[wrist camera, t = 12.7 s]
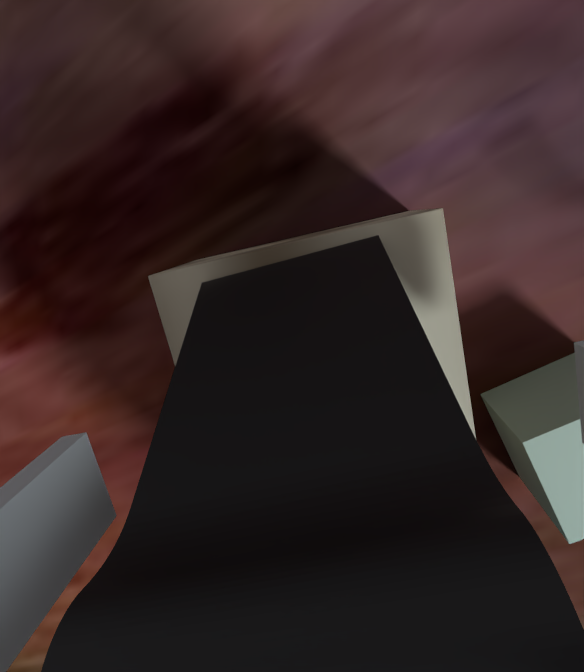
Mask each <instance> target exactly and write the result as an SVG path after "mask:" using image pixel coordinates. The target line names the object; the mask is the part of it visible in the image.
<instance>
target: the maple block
mask: <svg viewBox="0 0 584 672" xmlns="http://www.w3.org/2000/svg"><path fill="white" fill-rule="evenodd" d="M376 235H379V237H380V240H381V242H382V244H383V246H384V248H385V250H386V252H387V254H388V256H389V258H390V260H391V263H392V265H393V267H394V269H395V271H396V273H397V275H398V277H399V279H400V281H401V284H402V286H403V288H404V290H405V292H406V294H407V296H408V298H409V300H410V302H411V304H412V307H413V309H414V311H415V313H416V315H417V317H418V319H419V321H420V323H421V325H422V328H423V330H424V332H425V334H426V336H427V338H428V340H429V342H430V344H431V346H432V348H433V351H434V353H435V355H436V357H437V359H438V361H439V363H440V365H441V367H442V369H443V371H444V374H445V376H446V378H447V380H448V382H449V384H450V386H451V388H452V390H453V392H454V395H455V397H456V399H457V401H458V403H459V405H460V407H461V409H462V411H463V413H464V415H465V418H466V420H467V422H468V424H469V426H470V428H471V430H472V432H473V434H474V436H475V438H476V435H475V428H474V421H473V414H472V407H471V400H470V393H469V386H468V380H467V373H466V366H465V359H464V352H463V345H462V338H461V331H460V324H459V317H458V310H457V303H456V296H455V289H454V283H453V276H452V269H451V262H450V255H449V248H448V241H447V234H446V227H445V220H444V213H443V208H440V209H426V210H413V211H406V212H402V213H398V214H393V215H389V216H385V217H380V218H376V219H372V220H367V221H363V222H359V223H354V224H350V225H346V226H341V227H337V228H333V229H328V230H324V231H320V232H315V233H311V234H307V235H302V236H298V237H294V238H289V239H285V240H281V241H276V242H272V243H268V244H263V245H259V246H255V247H250V248H246V249H242V250H237V251H233V252H229V253H224V254H220V255H216V256H211V257H207V258H203V259H198V260H195V261H192V262H189V263H186V264H183V265H180V266H177V267H174V268H171V269H168V270H165V271H162V272H159V273H156V274H153V275H150V276H148V278H149V282H150V285H151V288H152V291H153V295H154V298H155V301H156V305H157V308H158V311H159V315H160V318H161V321H162V325H163V328H164V331H165V334H166V338H167V341H168V344H169V348H170V351H171V354H172V358H173V361H174V364H175V366H176V363H177V360H178V356H179V353H180V350H181V347H182V344H183V341H184V337H185V334H186V331H187V328H188V325H189V322H190V318H191V315H192V312H193V309H194V306H195V302H196V299H197V296H198V293H199V290H200V287H201V284H202V282H206V281H210V280H213V279H217V278H221V277H224V276H228V275H232V274H236V273H239V272H243V271H247V270H250V269H254V268H258V267H261V266H265V265H269V264H273V263H276V262H280V261H284V260H287V259H291V258H295V257H299V256H302V255H306V254H310V253H313V252H317V251H321V250H324V249H328V248H332V247H336V246H339V245H343V244H347V243H350V242H354V241H358V240H361V239H365V238H369V237H373V236H376Z"/></svg>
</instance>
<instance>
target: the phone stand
mask: <svg viewBox="0 0 584 672" xmlns="http://www.w3.org/2000/svg"><path fill="white" fill-rule="evenodd" d="M41 672H584V630H583V627H582V625H581V623H580V620H579V618H578V615H577V613H576V611H575V609H574V606H573V604H572V602H571V600H570V597H569V595H568V593H567V591H566V589H565V586H564V584H563V582H562V580H561V578H560V576H559V574H558V572H557V570H556V568H555V566H554V564H553V562H552V560H551V558H550V556H549V555H548V553H547V551H546V549H545V547H544V545H543V544H542V542H541V540H540V539H539V537H538V535H537V534H536V532H535V530H534V529H533V527H532V526H531V524H530V523H529V521H528V520H527V518H526V517H525V516H524V514H523V513H522V512H521V511H520V509H519V508H518V507H517V506H516V505H515V503H514V502H513V501H512V499H511V498H510V497H509V495H508V494H507V493H506V491H505V490H504V488H503V487H502V485H501V484H500V482H499V481H498V479H497V477H496V476H495V474H494V472H493V471H492V469H491V467H490V465H489V464H488V462H487V460H486V458H485V456H484V454H483V452H482V451H481V449H480V447H479V445H478V443H477V441H476V438H475V436H474V434H473V432H472V430H471V428H470V426H469V424H468V422H467V420H466V418H465V415H464V413H463V411H462V409H461V407H460V405H459V403H458V401H457V399H456V397H455V395H454V392H453V390H452V388H451V386H450V384H449V382H448V380H447V378H446V376H445V374H444V371H443V369H442V367H441V365H440V363H439V361H438V359H437V357H436V355H435V353H434V351H433V348H432V346H431V344H430V342H429V340H428V338H427V336H426V334H425V332H424V330H423V328H422V325H421V323H420V321H419V319H418V317H417V315H416V313H415V311H414V309H413V307H412V304H411V302H410V300H409V298H408V296H407V294H406V292H405V290H404V288H403V286H402V284H401V281H400V279H399V277H398V275H397V273H396V271H395V269H394V267H393V265H392V263H391V260H390V258H389V256H388V254H387V252H386V250H385V248H384V246H383V244H382V242H381V240H380V237H379V235H376V236H373V237H369V238H365V239H361V240H358V241H354V242H350V243H347V244H343V245H339V246H336V247H332V248H328V249H324V250H321V251H317V252H313V253H310V254H306V255H302V256H299V257H295V258H291V259H287V260H284V261H280V262H276V263H273V264H269V265H265V266H261V267H258V268H254V269H250V270H247V271H243V272H239V273H236V274H232V275H228V276H224V277H221V278H217V279H213V280H210V281H206V282H202V284H201V287H200V290H199V293H198V296H197V299H196V302H195V306H194V309H193V312H192V315H191V318H190V322H189V325H188V328H187V331H186V334H185V337H184V341H183V344H182V347H181V350H180V353H179V356H178V360H177V363H176V366H175V369H174V372H173V375H172V379H171V382H170V385H169V388H168V391H167V394H166V398H165V401H164V404H163V407H162V410H161V413H160V417H159V420H158V423H157V426H156V429H155V433H154V436H153V439H152V442H151V445H150V448H149V452H148V455H147V458H146V461H145V464H144V467H143V471H142V474H141V477H140V480H139V483H138V486H137V490H136V493H135V496H134V499H133V502H132V505H131V509H130V511H129V514H128V517H127V520H126V522H125V525H124V527H123V530H122V532H121V534H120V536H119V538H118V540H117V542H116V544H115V546H114V548H113V549H112V551H111V553H110V555H109V556H108V558H107V559H106V561H105V562H104V564H103V565H102V567H101V568H100V569H99V571H98V572H97V573H96V575H95V576H94V577H93V578H92V580H91V581H90V582H89V583H88V584H87V585H86V586H85V587H84V588H83V589H82V591H81V592H80V593H79V594H78V595H77V596H76V598H75V599H74V600H73V602H72V603H71V605H70V606H69V608H68V609H67V611H66V613H65V614H64V616H63V618H62V620H61V622H60V624H59V626H58V628H57V630H56V632H55V634H54V637H53V639H52V641H51V644H50V646H49V649H48V652H47V655H46V658H45V661H44V664H43V667H42V671H41Z"/></svg>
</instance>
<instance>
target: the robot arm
mask: <svg viewBox="0 0 584 672" xmlns="http://www.w3.org/2000/svg"><path fill="white" fill-rule="evenodd" d="M574 351H575V363H576V375H577V387H578V399H579V411H580V422H581V434H582V443H583V444H584V341H579V342H574ZM115 517H116V513H115V510H114V507H113V505H112V502H111V499H110V496H109V494H108V491H107V488H106V485H105V483H104V480H103V477H102V474H101V472H100V469H99V466H98V464H97V461H96V458H95V455H94V453H93V450H92V447H91V444H90V442H89V439H88V436H87V433H81V434H75V435H70V436H64V437H61V438H60V439H59V440H57V441H56V442H55V443H54V444H53V445H51V446H50V447H49V448H48V449H47V450H45V451H44V452H43V453H42V454H41V455H39V456H38V457H37V458H36V459H34V460H33V461H32V462H31V463H30V464H28V465H27V466H26V467H25V468H24V469H22V470H21V471H20V472H19V473H18V474H16V475H15V476H14V477H13V478H12V479H10V480H9V481H8V482H7V483H5V484H4V485H3V486H2V487H1V488H0V672H6V671H7V669H8V668H9V667H10V665H11V664H12V662H13V661H14V660H15V658H16V657H17V655H18V654H19V653H20V651H21V650H22V648H23V647H24V646H25V644H26V643H27V641H28V640H29V638H30V637H31V636H32V634H33V633H34V631H35V630H36V629H37V627H38V626H39V624H40V623H41V622H42V620H43V619H44V617H45V616H46V614H47V613H48V612H49V610H50V609H51V607H52V606H53V605H54V603H55V602H56V600H57V599H58V598H59V596H60V595H61V593H62V592H63V590H64V589H65V588H66V586H67V585H68V583H69V582H70V581H71V579H72V578H73V576H74V575H75V574H76V572H77V571H78V569H79V568H80V567H81V565H82V564H83V562H84V561H85V559H86V558H87V557H88V555H89V554H90V552H91V551H92V550H93V548H94V547H95V545H96V544H97V543H98V541H99V540H100V538H101V537H102V535H103V534H104V533H105V531H106V530H107V528H108V527H109V526H110V524H111V523H112V521H113V520H114V519H115Z"/></svg>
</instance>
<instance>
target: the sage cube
mask: <svg viewBox="0 0 584 672" xmlns="http://www.w3.org/2000/svg"><path fill="white" fill-rule="evenodd" d="M480 395H481V397H482V399H483V401H484V403H485V405H486V408H487V410H488V412H489V414H490V416H491V418H492V420H493V422H494V424H495V427H496V429H497V431H498V433H499V435H500V437H501V439H502V441H503V443H504V445H505V448H506V450H507V452H508V454H509V456H510V458H511V460H512V462H513V464H514V467H515V469H516V471H517V473H518V475H519V477H520V478H521V480H522V481H523V482H524V484H525V485H526V486H527V488H528V489H529V490H530V492H531V493H532V494H533V496H534V497H535V498H536V500H537V501H538V502H539V504H540V505H541V507H542V508H543V509H544V511H545V512H546V513H547V515H548V516H549V517H550V519H551V520H552V521H553V523H554V524H555V525H556V527H557V528H558V529H559V531H560V532H561V533H562V535H563V536H564V537H565V539H566V540H567V541H568V543H569V544H571V543H574V542H577V541H579V540H582V539H584V444H583V443H582V434H581V422H580V411H579V399H578V387H577V375H576V363H575V353H572V354H570V355H568V356H566V357H563V358H561V359H559V360H557V361H554V362H552V363H550V364H548V365H545V366H543V367H541V368H538V369H536V370H534V371H532V372H529V373H527V374H525V375H523V376H520V377H518V378H516V379H514V380H511V381H509V382H507V383H505V384H502V385H500V386H498V387H495V388H493V389H491V390H489V391H486V392H484V393H482V394H480Z"/></svg>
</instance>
